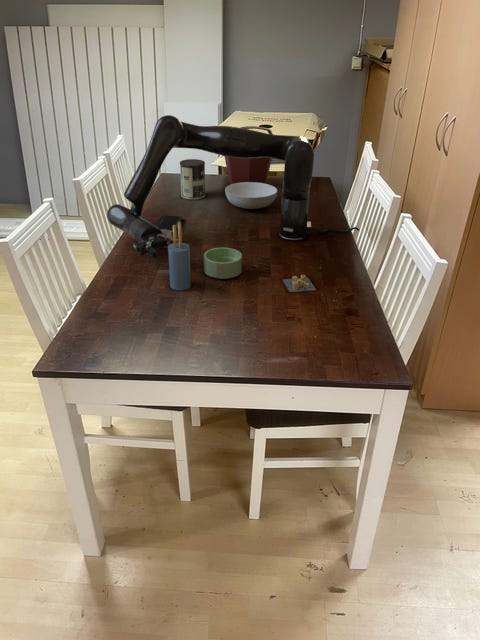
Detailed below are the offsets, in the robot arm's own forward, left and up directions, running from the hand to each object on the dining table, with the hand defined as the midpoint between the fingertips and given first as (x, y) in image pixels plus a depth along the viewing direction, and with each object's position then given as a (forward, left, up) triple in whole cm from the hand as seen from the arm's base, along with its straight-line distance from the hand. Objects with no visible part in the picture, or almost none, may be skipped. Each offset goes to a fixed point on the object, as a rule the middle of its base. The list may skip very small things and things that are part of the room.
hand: (170, 251), depth 148 cm
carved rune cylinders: (-37, -1, -9) cm, 38 cm away
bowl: (-14, -6, -9) cm, 18 cm away
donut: (+9, -26, -9) cm, 29 cm away
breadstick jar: (-3, +4, -9) cm, 10 cm away
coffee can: (+7, -77, -9) cm, 78 cm away
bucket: (-15, -96, -9) cm, 97 cm away
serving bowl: (-18, -68, -9) cm, 71 cm away
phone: (+10, -41, -9) cm, 43 cm away
